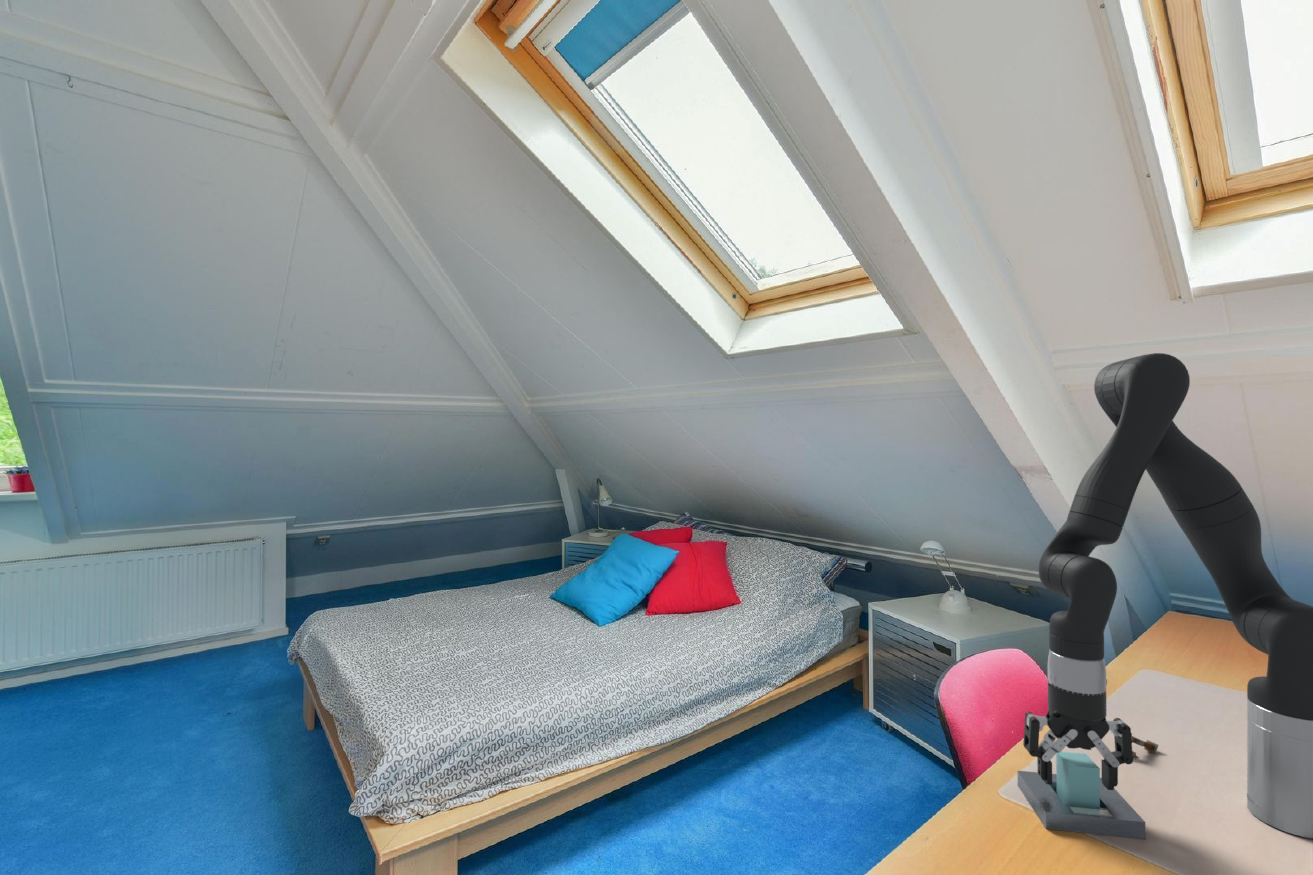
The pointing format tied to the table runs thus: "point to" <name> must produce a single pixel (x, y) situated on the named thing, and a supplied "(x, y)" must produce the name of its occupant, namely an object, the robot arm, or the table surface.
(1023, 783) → the rail plate
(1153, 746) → the brown piece
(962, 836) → the table surface
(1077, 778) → the teal peg
